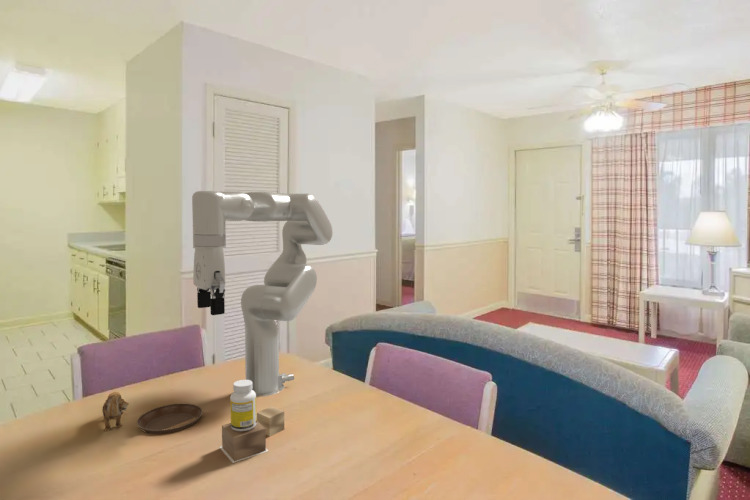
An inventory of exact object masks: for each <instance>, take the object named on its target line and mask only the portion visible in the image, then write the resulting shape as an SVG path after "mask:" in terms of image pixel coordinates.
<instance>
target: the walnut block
mask: <svg viewBox="0 0 750 500" xmlns="http://www.w3.org/2000/svg"><path fill="white" fill-rule="evenodd" d="M266 437H267V435H266V428H265V427H263V426H262V425H261V424H260V423H259V422H258V421H257V424H256V426H255V427H254V428H253V429H251V430H248V431H235V430H233V429H232V428H231V422H228V423H226V424H222V425H221V446H222V448H223V449H224V450H225V451H226V452H227V453H228V454H229V456H230V457H231V458H232V459H233V460H234V461H236V460H239V459H242V458H245V457H248V456H251V455H254V454H257V453H260V452H263V451H266V449H267V445H266V444H267V443H266V442H267V441H266V440H267V438H266Z"/></svg>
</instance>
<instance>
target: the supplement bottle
mask: <svg viewBox="0 0 750 500" xmlns="http://www.w3.org/2000/svg"><path fill="white" fill-rule="evenodd" d="M232 385H233V388H232V389H233V392H231V395H230V397H229V399H230V401H229V402H230V423H231V428H232V429H233V430H235V431H248V430H251V429H253V428H254V427H255V426H256V424H257V397H256V393H255V392H254V391H253V390H252V387H253V386H252V381H251V380H246V379H239V380H236V381H234V382H233V384H232Z"/></svg>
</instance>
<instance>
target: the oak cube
mask: <svg viewBox="0 0 750 500" xmlns="http://www.w3.org/2000/svg"><path fill="white" fill-rule="evenodd" d="M256 414H257V421H258V422H259V423H260V424H261V425H262V426H263V427H265V428H266V437H272V436H274V435H276V434H278V433H280V432H282V431H284V430H285V410H282V409H280V408H278V407H275V406H273V405H272V406H269V407H266V408H265V409H262V410H260V411H256Z"/></svg>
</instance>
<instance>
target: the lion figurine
mask: <svg viewBox="0 0 750 500" xmlns="http://www.w3.org/2000/svg"><path fill="white" fill-rule="evenodd" d="M129 405H130V403H129V402H127V401H125V400H124V399H123V398H122V394H121V393H120V392H117V391H114V392H110V393H109V394H108V396H107V399H106V400H105V402H104V403H103V406H102V408H101V409H102V415H103V421H104V426H105V428H104V429H103V431H104V432H109V431H110V430H111V424H110V421H112V420H115V427H116V428H117V429H119V428H122V427H123V424H122V423H121V419H122V415H123V414H124V412H125V411H127V407H128V406H129Z"/></svg>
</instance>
